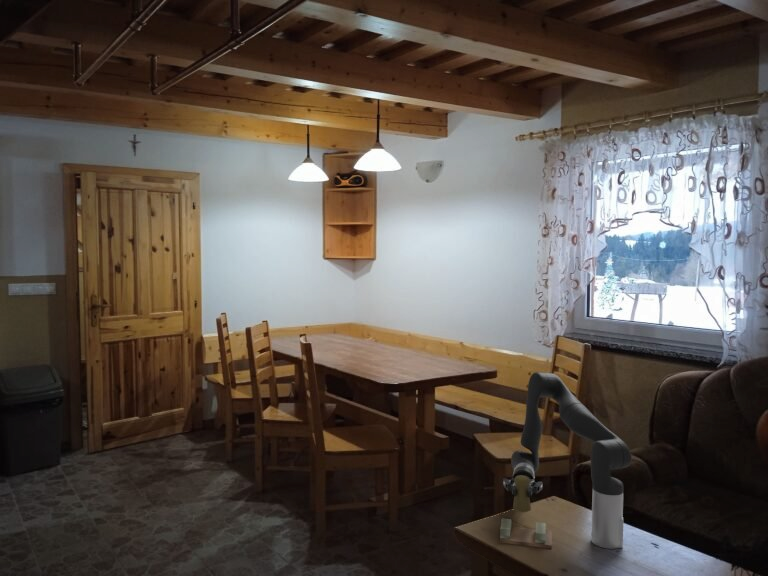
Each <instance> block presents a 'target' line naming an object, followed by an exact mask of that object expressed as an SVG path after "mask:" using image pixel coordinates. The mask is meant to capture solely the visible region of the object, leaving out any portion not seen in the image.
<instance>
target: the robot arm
mask: <svg viewBox="0 0 768 576" xmlns="http://www.w3.org/2000/svg"><path fill="white" fill-rule="evenodd" d="M541 398H547V399H548V398H549V399H553V401H555V403H557V404H558V405H559V408H558V409H559V410H558V411H559V412H558V414H559V417H560V419H561V421H562V422H563V424H565V425H566V426H567V428H568V429H569V430H570V431H571V432H572V433H574V434H575V435H578V436H579V437H581V438H584V439H586V440H588V441H591V442H593V443H592V445H591V448H590V478H591V481H592V499H591V500H592V502H591V505H592V506H591V529H590V530H591V531H590V534H591V535H590V536H591V537H590V538H591V540H590V541H591V542H592V543H593V544H594V545H596V546H597V547H600V548H604V549H608V550H609V549H611V550H614V549H623V547H624V544H623V543H624V517H623V516H624V515H623V514H624V511H623V510H624V483H623V482H622V481H621V480H620V479H618V478H616V477H614V476H612V475H611V474H612V473H611V471H612V470H620V469H621V470H622V469H625V468H627V467H629V466H630V465H631V463H632V461H633V460H632V454H631V450H630V448H629V446H628V445H627V444H626V442H625V441H624V440H622V439H621V438H620V437H619V436H618V435H616V434H615V433H614V432H613V431H611V430H610V429H609V428H607V427H606V426H605V425H604V424H603V423H602V422H601V421H600V420H599V419H598V418H597V417H596V416H595V415H594V414H593V413H592V412H591V411H590V410H589V409H588V408H587V407H586V406H585V405H584V404H583V403H582V402H581V401H580V400H579V399H578V398H577V397H576V395H574V394H573V393H572V392H571V391H570V389H569V388H568V387H567V386H566V384H565V383H564V382H563V380H562V379H561V378H560V377H559V376H558V375H557V374H556V373H551V372H539V371H536V372H533V373H532V374H531V376H530V377H529V380H528V385H527V395H526V405H525V406H526V408H525V419H524V424H523V430H522V433H521V437H520V445H521V446H522V447H523V448H525V449H526V450H529V451H530V452H527V451H524V450H521V449H518V450H515V451H513V453H512V455H511V459H510V462H511V467H512V469H513V473H512V478H510V479H508V478H505V477H504V478H503V485H502V486H503V487H504V488H505V490H506V491H507V492H511V495H513V496H516V485H515V483H514V479H515V477H516V476H518V475H524V476H527V477H528V478H529V479H530V485H529V486H528V490H527V497H532V495H533V494H535V495H537V494H538V493H540V492H541V491H543V484H544V483H543V481H537V482H536V481H535V472H537V471H538V470H539V467H540V456H539V449H540V448H539V447H540V442H541V438H542V433H543V423H542V419H541V416H540V412H539V401H540V399H541Z"/></svg>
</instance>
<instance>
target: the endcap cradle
mask: <svg viewBox="0 0 768 576" xmlns="http://www.w3.org/2000/svg"><path fill="white" fill-rule="evenodd" d="M499 533H500V535H499V537H500V538H499V543H503V544H512V545H518V544H519V545H521V546H528V547H535V548H536V547H537V548H543V549H552V548H553V543H552V541H553V540H552V539H553V538H552V536H553V535H552V531H548V530H546V522H537V521H536V522H535V529H533V528H524V527H515V526H512V519H510V518H503V517H502V518H501V524H500V531H499ZM519 545H518V546H519Z"/></svg>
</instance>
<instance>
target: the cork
mask: <svg viewBox="0 0 768 576" xmlns="http://www.w3.org/2000/svg"><path fill="white" fill-rule="evenodd" d="M514 483H515V485H516V496H514V495H513V496H514V497H513V505H512V509H513V510H514V511H517V512H521V513H528V512H530V511H531V510H532V508H531V500H530V497H531V496H529V497H527V490H528V486H529V485H530V479H529V478H528V477H527V476H524V475H518V476H516V477H515V479H514Z"/></svg>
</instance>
